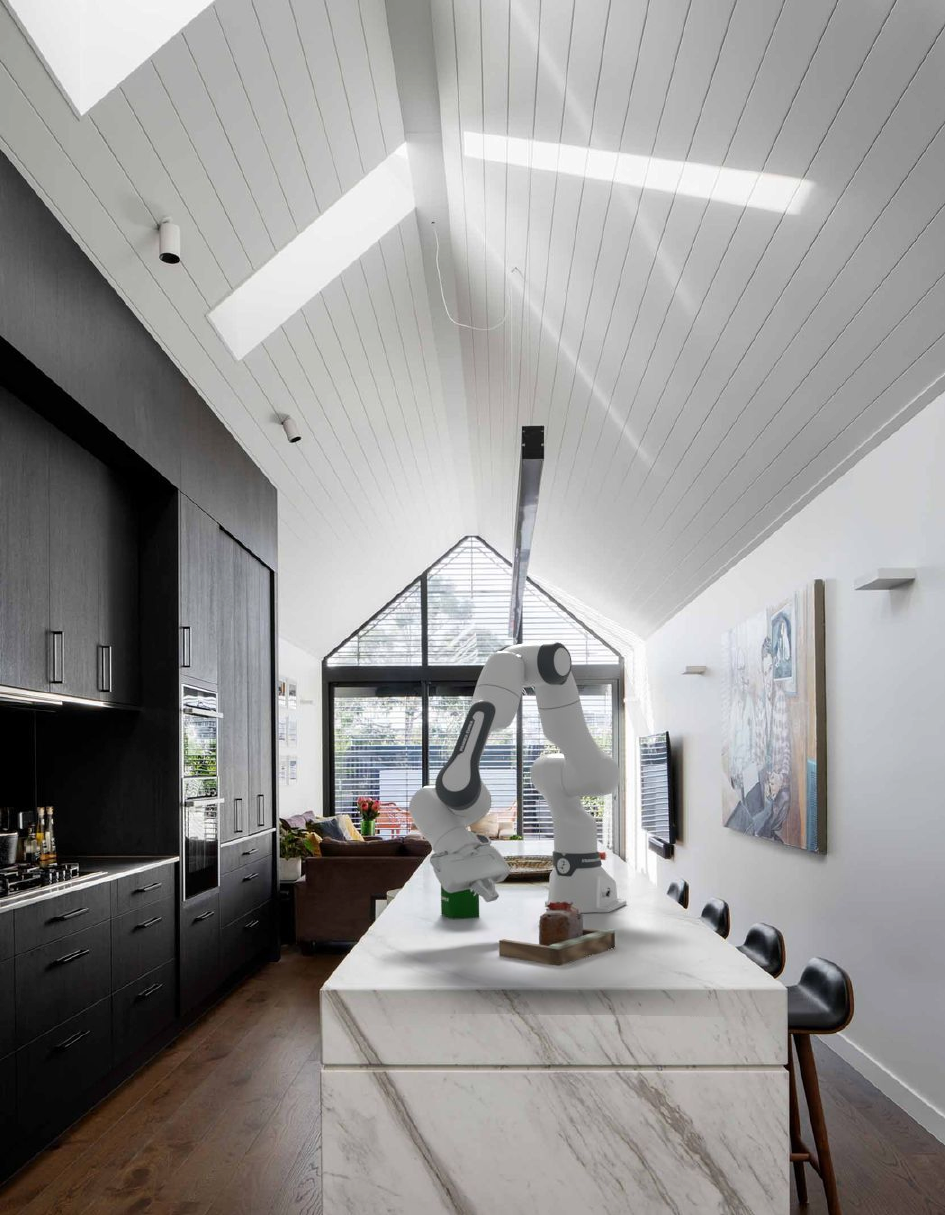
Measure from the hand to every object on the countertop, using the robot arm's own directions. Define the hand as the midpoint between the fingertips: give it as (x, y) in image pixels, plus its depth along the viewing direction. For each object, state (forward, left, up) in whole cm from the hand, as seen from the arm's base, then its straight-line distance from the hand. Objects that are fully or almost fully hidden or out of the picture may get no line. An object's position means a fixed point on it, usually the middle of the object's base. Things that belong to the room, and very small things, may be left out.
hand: (493, 899), depth 211 cm
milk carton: (-19, -25, -9) cm, 33 cm away
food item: (-1, +17, -9) cm, 19 cm away
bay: (+1, +17, -9) cm, 19 cm away
